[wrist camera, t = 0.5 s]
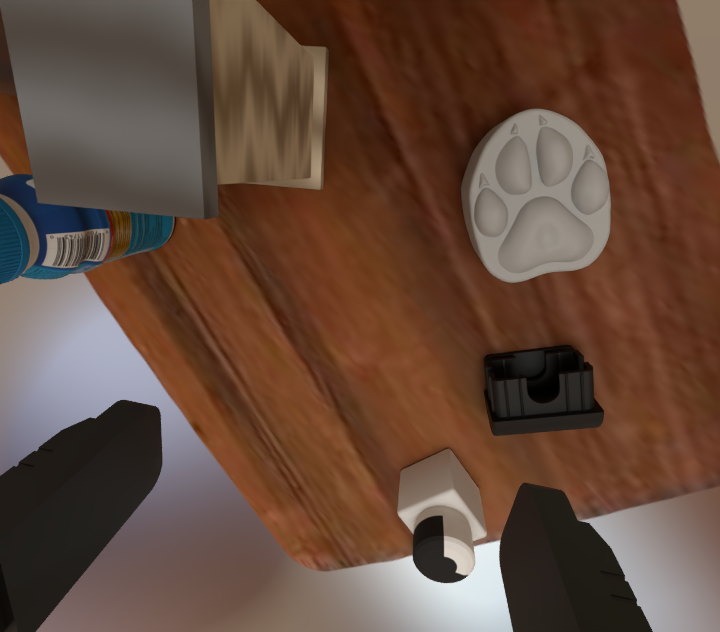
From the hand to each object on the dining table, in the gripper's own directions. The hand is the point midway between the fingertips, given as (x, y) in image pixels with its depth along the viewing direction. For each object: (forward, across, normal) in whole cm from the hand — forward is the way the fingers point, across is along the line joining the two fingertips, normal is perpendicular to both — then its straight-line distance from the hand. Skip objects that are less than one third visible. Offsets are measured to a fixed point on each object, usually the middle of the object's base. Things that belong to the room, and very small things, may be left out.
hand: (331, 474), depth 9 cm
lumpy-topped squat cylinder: (+35, +10, +5) cm, 37 cm away
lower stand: (+35, -14, +8) cm, 39 cm away
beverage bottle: (+35, -28, -3) cm, 45 cm away
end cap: (+35, +17, -13) cm, 41 cm away
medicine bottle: (+35, +10, -29) cm, 46 cm away
